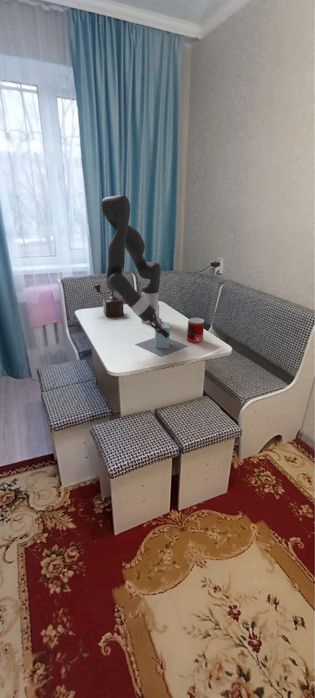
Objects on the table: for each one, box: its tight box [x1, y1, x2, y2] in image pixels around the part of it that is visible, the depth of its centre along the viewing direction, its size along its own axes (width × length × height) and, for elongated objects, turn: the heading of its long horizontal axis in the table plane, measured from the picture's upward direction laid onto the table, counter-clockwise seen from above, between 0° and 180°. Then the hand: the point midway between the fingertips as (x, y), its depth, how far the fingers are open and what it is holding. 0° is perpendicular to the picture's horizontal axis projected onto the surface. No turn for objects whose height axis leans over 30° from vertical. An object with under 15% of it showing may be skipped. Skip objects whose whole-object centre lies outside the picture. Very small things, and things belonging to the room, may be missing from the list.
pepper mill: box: [93, 283, 124, 318], centre depth 189 cm, size 16×11×18 cm
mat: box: [135, 337, 189, 358], centre depth 150 cm, size 18×18×1 cm
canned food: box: [186, 317, 205, 344], centre depth 155 cm, size 8×8×11 cm
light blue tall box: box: [154, 322, 171, 348], centre depth 148 cm, size 6×6×10 cm
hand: (167, 333), depth 148 cm, fingers open, 8 cm apart
